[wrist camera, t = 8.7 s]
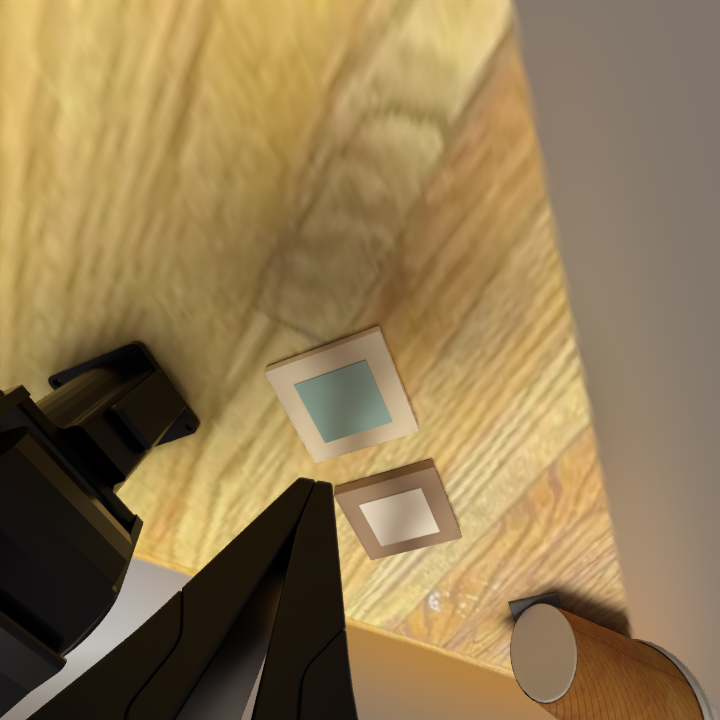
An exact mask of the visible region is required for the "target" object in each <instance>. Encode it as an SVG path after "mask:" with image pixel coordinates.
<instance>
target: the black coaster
mask: <svg viewBox="0 0 720 720" xmlns="http://www.w3.org/2000/svg"><path fill="white" fill-rule="evenodd" d="M508 603H509V606H510V609H511V612H512V614H513V617H514V620H515V623H516V621H517V620H518V618H519V617H520V615H521V614H522V613H523V612H524V611H525V610H526V609H527V608H528V607H529V606H531V605H534V604H536V603H548V604H551V605H553V606H555V607H557V608H560V609H562V607H561V604H560V600H559V596H558V593H557V592H555V593H550V594H546V595H541V596H536V597H531V598H527V599H522V600H517V601H512V602H508Z"/></svg>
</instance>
